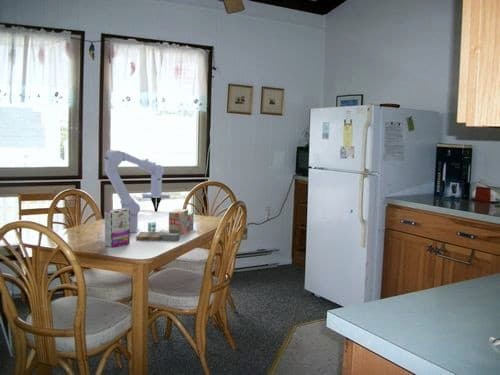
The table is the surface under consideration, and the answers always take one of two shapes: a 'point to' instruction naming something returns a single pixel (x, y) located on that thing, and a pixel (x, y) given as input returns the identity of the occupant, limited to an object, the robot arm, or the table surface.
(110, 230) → the candy bar box
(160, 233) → the tile
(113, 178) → the robot arm
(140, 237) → the board
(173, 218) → the stack of blocks
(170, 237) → the tray
